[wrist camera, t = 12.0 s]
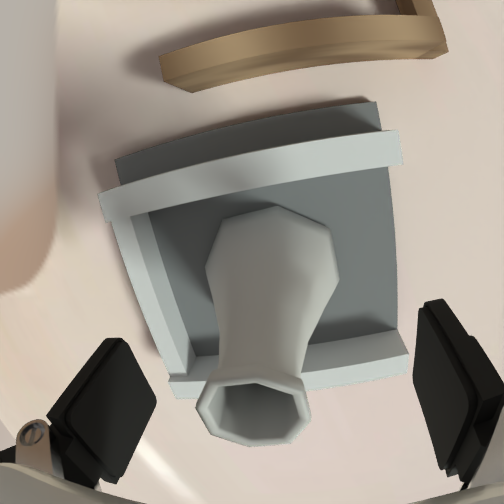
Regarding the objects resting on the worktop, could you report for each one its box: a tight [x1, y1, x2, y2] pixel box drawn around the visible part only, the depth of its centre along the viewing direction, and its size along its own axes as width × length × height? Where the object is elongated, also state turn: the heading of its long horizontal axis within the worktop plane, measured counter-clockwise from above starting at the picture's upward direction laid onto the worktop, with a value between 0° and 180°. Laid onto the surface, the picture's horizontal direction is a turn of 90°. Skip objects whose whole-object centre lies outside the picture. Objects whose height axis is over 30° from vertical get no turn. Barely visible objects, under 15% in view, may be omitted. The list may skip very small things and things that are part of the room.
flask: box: [195, 206, 340, 447], centre depth 12 cm, size 7×7×10 cm
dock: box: [98, 102, 409, 399], centre depth 16 cm, size 14×16×3 cm
